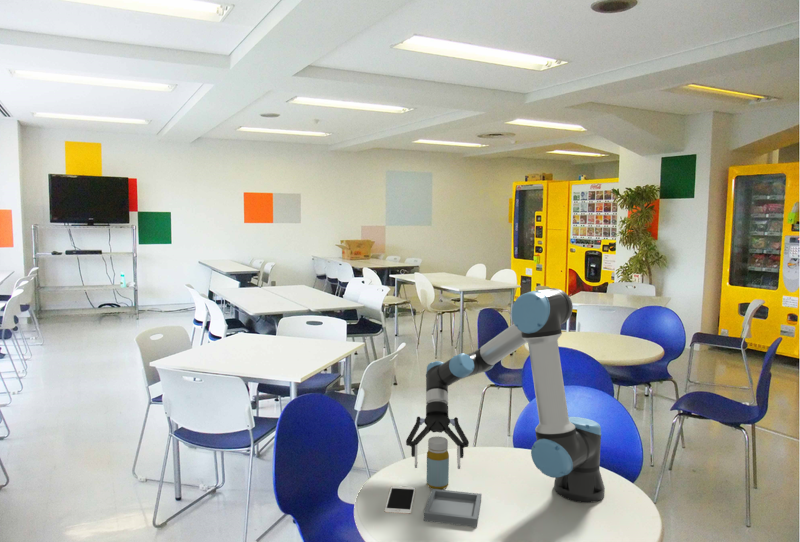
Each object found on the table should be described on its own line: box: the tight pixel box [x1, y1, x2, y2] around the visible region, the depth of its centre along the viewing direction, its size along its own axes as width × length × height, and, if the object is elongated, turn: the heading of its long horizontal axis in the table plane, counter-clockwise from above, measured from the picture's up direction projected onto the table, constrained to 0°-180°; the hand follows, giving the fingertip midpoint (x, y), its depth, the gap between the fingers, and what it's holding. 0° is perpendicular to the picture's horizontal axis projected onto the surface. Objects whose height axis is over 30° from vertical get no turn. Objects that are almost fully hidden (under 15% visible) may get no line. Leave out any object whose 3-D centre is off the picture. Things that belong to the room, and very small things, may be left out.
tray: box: [423, 489, 482, 528], centre depth 170 cm, size 15×15×2 cm
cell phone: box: [383, 485, 416, 515], centre depth 177 cm, size 8×16×1 cm, turn 173°
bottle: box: [426, 436, 450, 490], centre depth 186 cm, size 7×7×15 cm
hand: (437, 467), depth 184 cm, fingers open, 13 cm apart
